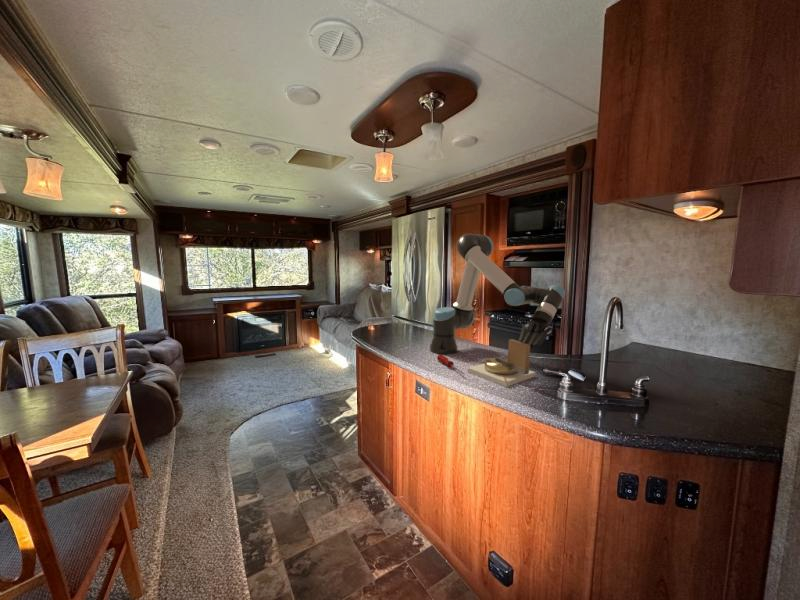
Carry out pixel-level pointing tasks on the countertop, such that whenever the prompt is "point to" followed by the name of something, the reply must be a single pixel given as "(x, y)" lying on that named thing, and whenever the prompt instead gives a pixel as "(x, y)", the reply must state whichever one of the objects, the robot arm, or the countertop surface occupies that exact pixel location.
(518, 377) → the plate
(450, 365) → the screwdriver
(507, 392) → the countertop surface
